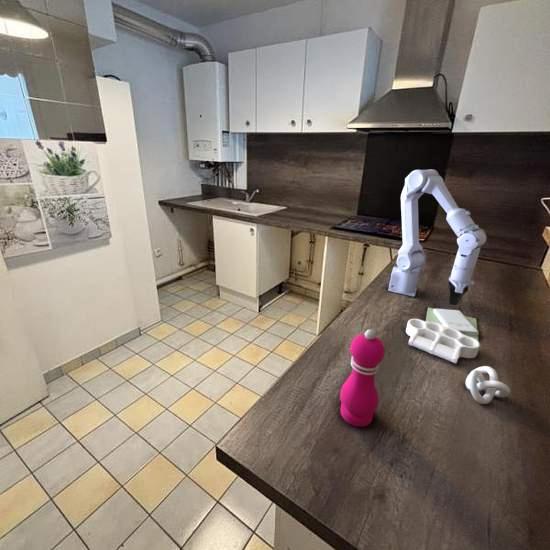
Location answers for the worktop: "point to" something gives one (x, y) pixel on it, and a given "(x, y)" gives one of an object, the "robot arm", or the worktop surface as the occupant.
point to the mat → (433, 318)
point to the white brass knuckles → (441, 340)
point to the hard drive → (455, 321)
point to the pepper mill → (362, 380)
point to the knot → (486, 385)
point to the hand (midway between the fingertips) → (452, 303)
